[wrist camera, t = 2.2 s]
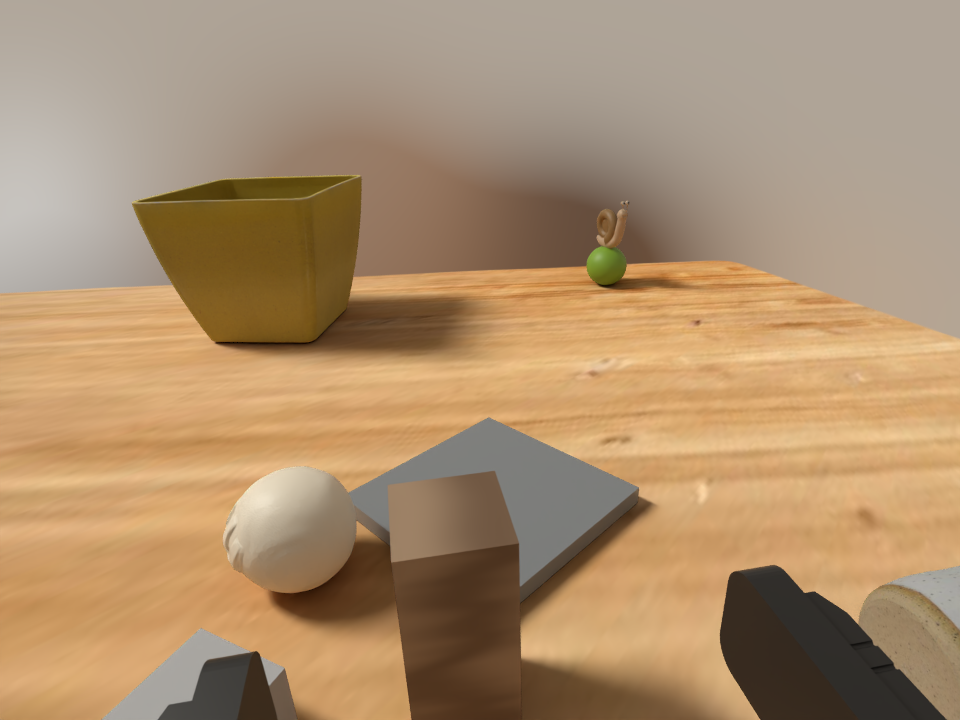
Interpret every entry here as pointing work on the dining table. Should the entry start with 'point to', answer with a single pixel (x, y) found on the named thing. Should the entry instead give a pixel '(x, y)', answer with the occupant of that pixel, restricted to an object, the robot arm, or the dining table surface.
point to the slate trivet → (516, 494)
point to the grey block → (195, 680)
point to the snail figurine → (608, 248)
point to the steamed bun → (291, 530)
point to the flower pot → (259, 253)
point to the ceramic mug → (921, 632)
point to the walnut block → (457, 597)
